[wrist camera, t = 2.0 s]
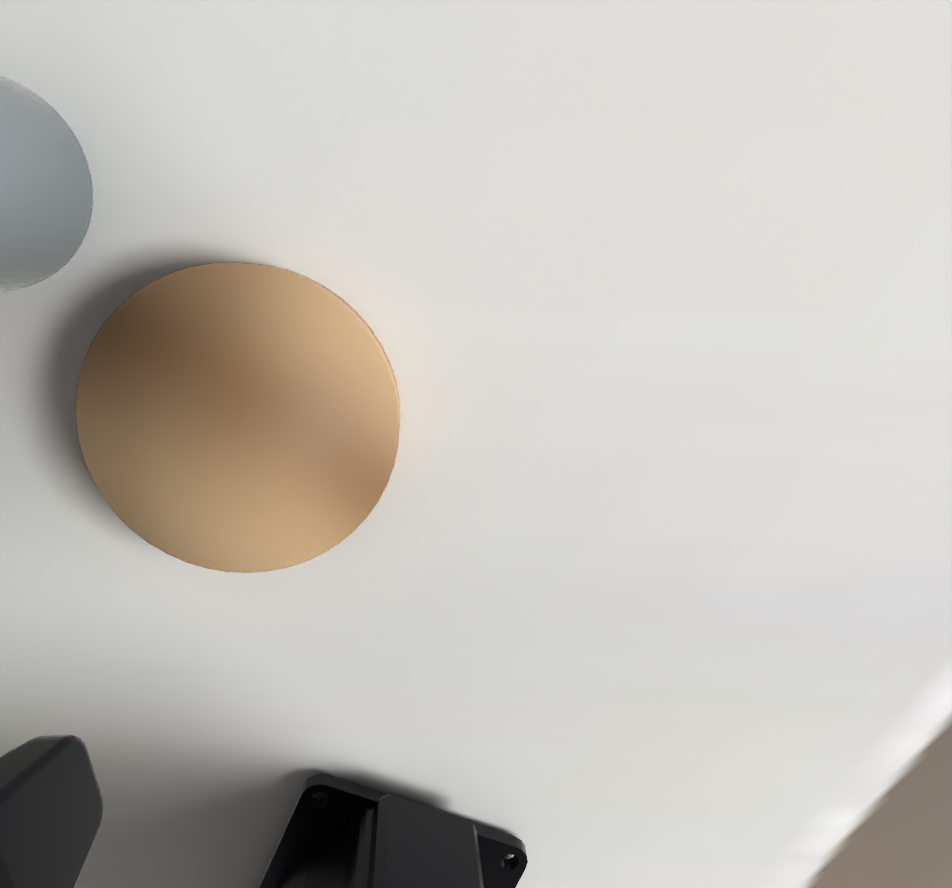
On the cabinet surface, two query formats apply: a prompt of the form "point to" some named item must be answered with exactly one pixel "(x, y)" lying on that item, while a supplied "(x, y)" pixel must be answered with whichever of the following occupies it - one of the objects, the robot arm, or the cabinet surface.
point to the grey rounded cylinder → (38, 189)
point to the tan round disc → (238, 416)
